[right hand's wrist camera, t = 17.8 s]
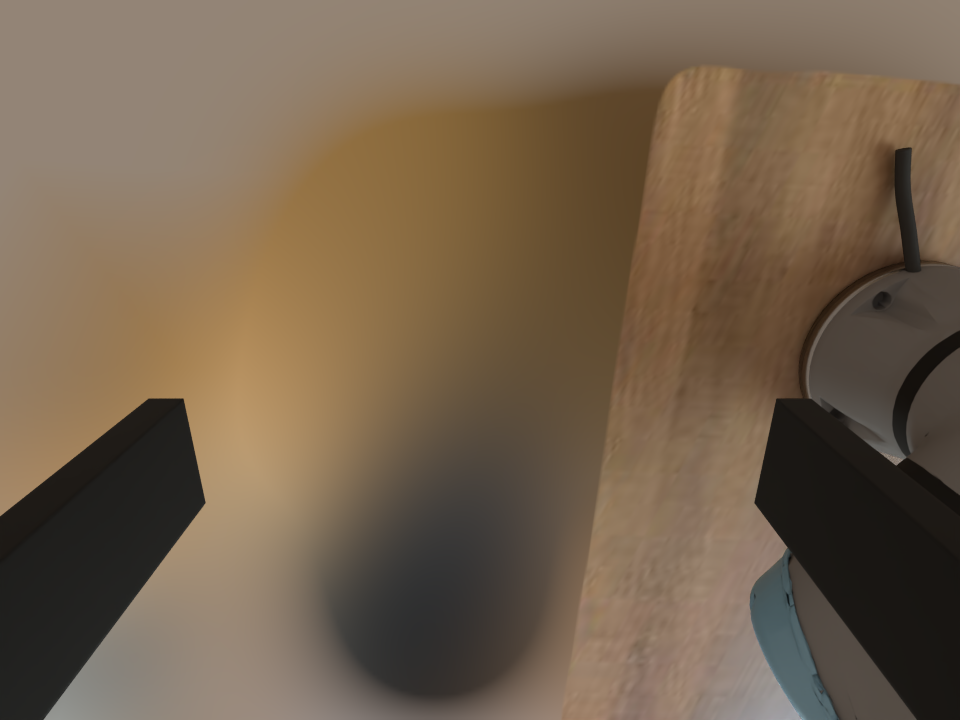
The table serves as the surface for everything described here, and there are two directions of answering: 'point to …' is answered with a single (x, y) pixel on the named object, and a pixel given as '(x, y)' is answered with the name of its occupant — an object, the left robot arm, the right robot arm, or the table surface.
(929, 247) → the table surface
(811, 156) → the table surface
